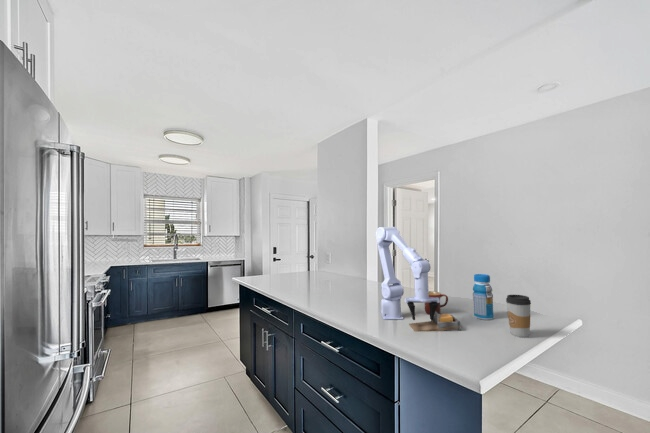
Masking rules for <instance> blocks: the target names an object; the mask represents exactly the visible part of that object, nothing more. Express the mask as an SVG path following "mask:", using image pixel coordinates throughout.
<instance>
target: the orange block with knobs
mask: <svg viewBox="0 0 650 433" xmlns="http://www.w3.org/2000/svg"><path fill="white" fill-rule="evenodd" d="M451 315H452V314H450V313H440V314H438V313H437V312H436V311H435V313H434V316H435V322H436V323H437V322H453V317H454V316H453V315H452V316H453V317H452V316H451Z"/></svg>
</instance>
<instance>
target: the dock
mask: <svg viewBox="0 0 650 433" xmlns="http://www.w3.org/2000/svg"><path fill="white" fill-rule="evenodd" d="M450 315H451V316H452V317H453V322H437V323H436V322H435V315H434V317H433V320H431V319H430V320H429V321H420V322H412V323H408V325H409V326H410V328H411V329H412V330H413V332H415V333H416V332H460V331H461V321H460V320H458V318H456V317H455V316H453V315H452V314H450Z"/></svg>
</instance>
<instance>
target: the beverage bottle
mask: <svg viewBox="0 0 650 433" xmlns="http://www.w3.org/2000/svg"><path fill="white" fill-rule="evenodd" d="M473 281H474V284H473V287H472V290H473V293H472V300H473V316H474V318H476V319H477V320H478V319H479V320H485V321H486V320H488V321H490V320H493V319H494V317H495V316H494V294H493V293H492V292H493V288H492V286H491V285H490V283H491V276H490V275H489V274H482V273H477V274H476V273H475V274H474V275H473Z"/></svg>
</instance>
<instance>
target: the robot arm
mask: <svg viewBox="0 0 650 433" xmlns="http://www.w3.org/2000/svg"><path fill="white" fill-rule="evenodd" d="M375 238H376V243H377V249H378V254H379V259H380V263H381V269H382V273H383V277H384V280H383V281H382V282H381V285H380V286H381V295H382V297H383V298H381V300H380V316H381V318H382V319H383V320H404V317H403V316H402V307H401V303H402V302H401V301H402V300H401V299H402V297H403V295H404V293H405V290H404V287H403V285H402V284H401V280H399V279H398V278H397V277H396V273H395V269H394V268H395V267H394V264H393V259H392V255H391V251H390V245H391V244H393V243H394V244H395V245H396V247H398V248H399V249H400V250H401V252H402V257H403V258H404V259H405V260H406V261H407V262H408V263H409V265H410V270H411V271H412V277H413V278H414V296H412V297H404V303H405V304H407V306H408V308H409V311H410V313H411V318H412V320H413V321H416V314H415V313H416V312H415V310H416V305H415V304H417V303H419V304H420V303H423V304H425V303H429V308H430V315H429V319H430V321H431V320H433V317H434V316H435V315H434V313H435V310H436V308H437V307H438V304H437V303H440V304H441V299H440V300H439V298H438V297H429V292H428V291H429V272H430V271H431V263H430V262H429V260H428V259H424V257H422V256H421V255H420V254H418V252H417V250H416V248H414V247H409V245H408V244H407V242H406V241H405V240H404V238H403V237H402V235H401V233H400V230H399V229H398V228H397V227H396V226H385V227H384V226H380V227H378V228H377V229H376V231H375Z"/></svg>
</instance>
